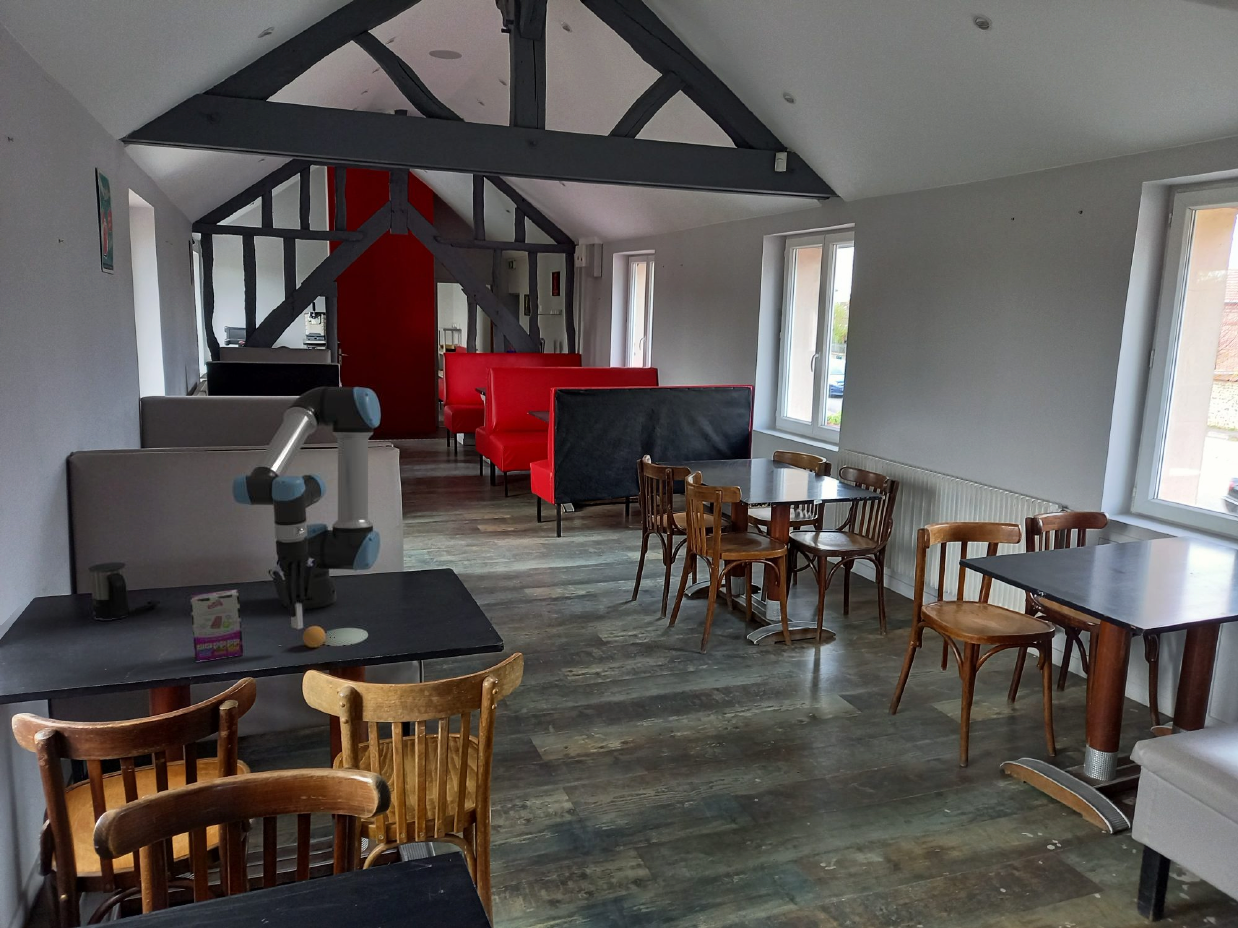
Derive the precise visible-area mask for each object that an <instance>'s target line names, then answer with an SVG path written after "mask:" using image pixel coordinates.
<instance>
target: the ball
mask: <svg viewBox="0 0 1238 928" xmlns="http://www.w3.org/2000/svg"><path fill="white" fill-rule="evenodd" d="M325 632H326V631H325V630H324V629H323V628H322V627H321V626H317V625H312V626H309V627H308V628H306V629H305V631H304V632H303V633H302V634H303V635H302V640H303V642H304V644H305V645H306V646H307V647H309V648H313V647H314V648H318V647H320V646H322V645H323V644H322V643H323V642H324V640H325Z"/></svg>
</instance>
